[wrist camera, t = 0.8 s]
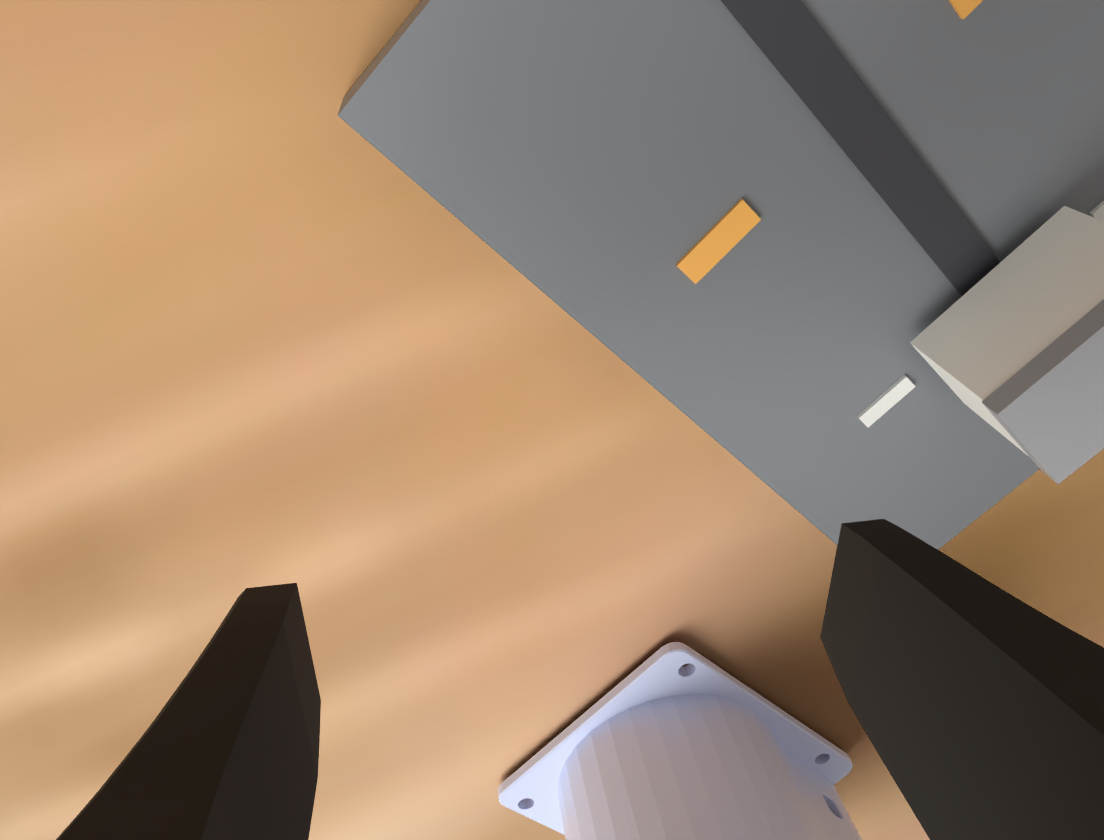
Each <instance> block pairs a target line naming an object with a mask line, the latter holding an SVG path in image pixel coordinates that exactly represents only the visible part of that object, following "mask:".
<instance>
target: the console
mask: <svg viewBox="0 0 1104 840" xmlns="http://www.w3.org/2000/svg"><path fill="white" fill-rule="evenodd" d="M338 116H339V117H340V118H341V119H342V120H344V121H345V122H346V123H347V124H348V125H349V126H351V127H352V128H353V129H354V130H355V131H356V132H358V133H359V134H360V135H361V136H362V137H363V138H364V139H366V140H367V141H368V142H369V143H370V144H371V145H373V146H374V147H375V148H376V149H377V150H378V151H380V152H381V153H382V154H383V155H384V156H385V157H387V158H388V159H389V160H390V161H391V162H392V163H394V164H395V165H396V166H397V167H398V168H399V169H401V170H402V171H403V172H404V173H405V174H406V175H408V176H409V177H410V178H411V179H412V180H413V181H414V182H416V183H417V184H418V185H419V186H420V187H421V188H423V189H424V190H425V191H426V192H427V193H428V194H430V195H431V196H432V197H433V198H434V199H435V200H437V201H438V202H439V203H440V204H441V205H442V206H444V207H445V208H446V209H447V210H448V211H449V212H451V213H452V214H453V215H454V216H455V217H456V218H458V219H459V220H460V221H461V222H462V223H463V224H464V225H466V226H467V227H468V228H469V229H470V230H471V231H473V232H474V233H475V234H476V235H477V236H478V237H480V238H481V239H482V240H483V241H484V242H485V243H487V244H488V245H489V246H490V247H491V248H492V249H494V250H495V251H496V252H497V253H498V254H499V255H501V256H502V257H503V258H504V259H505V260H506V261H508V262H509V263H510V264H511V265H512V266H513V267H515V268H516V269H517V270H518V271H519V272H520V273H521V274H523V275H524V276H525V277H526V278H527V279H528V280H530V281H531V282H532V283H533V284H534V285H535V286H537V287H538V288H539V289H540V290H541V291H542V292H544V293H545V294H546V295H547V296H548V297H549V298H551V299H552V300H553V301H554V302H555V303H556V304H558V305H559V306H560V307H561V308H562V309H563V310H565V311H566V312H567V313H568V314H569V315H570V316H571V317H573V318H574V319H575V320H576V321H577V322H578V323H580V324H581V325H582V326H583V327H584V328H585V329H587V330H588V331H589V332H590V333H591V334H592V335H594V336H595V337H596V338H597V339H598V340H599V341H601V342H602V343H603V344H604V345H605V346H606V347H608V348H609V349H610V350H611V351H612V352H613V353H615V354H616V355H617V356H618V357H619V358H620V359H621V360H623V361H624V362H625V363H626V364H627V365H628V366H630V367H631V368H632V369H633V370H634V371H635V372H637V373H638V374H639V375H640V376H641V377H642V378H644V379H645V380H646V381H647V382H648V383H649V384H651V385H652V386H653V387H654V388H655V389H656V390H658V391H659V392H660V393H661V394H662V395H663V396H665V397H666V398H667V399H668V400H669V401H670V402H671V403H673V404H674V405H675V406H676V407H677V408H678V409H680V410H681V411H682V412H683V413H684V414H685V415H687V416H688V417H689V418H690V419H691V420H692V421H694V422H695V423H696V424H697V425H698V426H699V427H701V428H702V429H703V430H704V431H705V432H706V433H708V434H709V435H710V436H711V437H712V438H713V439H715V440H716V441H717V442H718V443H719V444H720V445H722V446H723V447H724V448H725V449H726V450H727V451H728V452H730V453H731V454H732V455H733V456H734V457H735V458H737V459H738V460H739V461H740V462H741V463H742V464H744V465H745V466H746V467H747V468H748V469H749V470H751V471H752V472H753V473H754V474H755V475H756V476H758V477H759V478H760V479H761V480H762V481H763V482H765V483H766V484H767V485H768V486H769V487H770V488H772V489H773V490H774V491H775V492H776V493H777V494H778V495H780V496H781V497H782V498H783V499H784V500H785V501H787V502H788V503H789V504H790V505H791V506H792V507H794V508H795V509H796V510H797V511H798V512H799V513H801V514H802V515H803V516H804V517H805V518H806V519H808V520H809V521H810V522H811V523H812V524H813V525H815V526H816V527H817V528H818V529H819V530H820V531H822V532H823V533H824V534H825V535H826V536H827V537H828V538H830V539H831V540H832V541H833V542H834V543H835V544H837V545H838V540H839V535H840V530H841V524H842V523H849V522H858V521H868V520H877V519H885V520H887V521H889V522H891V523H893V524H895V525H897V526H898V527H900V528H902V529H904V530H905V531H907V532H909V533H911V534H912V535H914V536H916V537H917V538H919V539H921V540H922V541H924V542H926V543H927V544H929V545H931V546H932V547H934V548H935V549H937V550H938V549H940V548H941V547H942V546H943V545H945V544H946V543H947V542H948V541H950V540H951V539H952V538H953V537H955V536H956V535H957V534H958V533H960V532H961V531H962V530H963V529H965V528H966V527H967V526H968V525H970V524H971V523H972V522H973V521H975V520H976V519H977V518H978V517H980V516H981V515H982V514H983V513H985V512H986V511H987V510H989V509H990V508H991V507H992V506H994V505H995V504H996V503H997V502H999V501H1000V500H1001V499H1002V498H1004V497H1005V496H1006V495H1007V494H1009V493H1010V492H1011V491H1012V490H1014V489H1015V488H1016V487H1017V486H1019V485H1020V484H1021V483H1022V482H1024V481H1025V480H1026V479H1027V478H1029V477H1030V476H1031V475H1032V474H1034V473H1035V472H1036V471H1037V470H1039V469H1040V468H1039V467H1038V466H1037V465H1036V464H1035V463H1034V462H1033V460H1032V459H1031V458H1030V457H1029V456H1027V455H1026V454H1025V453H1024V452H1023V451H1021V450H1020V449H1019V448H1018V447H1016V446H1015V445H1014V444H1013V443H1012V442H1010V441H1009V440H1008V439H1007V438H1005V437H1004V436H1003V435H1002V434H1001V433H999V432H998V431H997V430H996V429H995V428H993V427H992V426H991V425H990V424H988V423H987V422H986V421H985V420H984V419H982V418H981V417H980V416H979V415H977V414H976V413H975V412H974V411H973V410H971V409H970V408H969V407H968V406H966V405H965V404H964V403H963V402H962V400H961V399H960V398H959V397H958V396H957V395H956V394H955V393H954V391H953V390H952V389H951V388H950V387H949V386H948V385H947V384H946V383H945V381H944V380H943V379H942V378H941V377H940V376H939V375H938V374H937V372H936V371H935V370H934V369H933V368H932V367H931V366H930V365H929V363H928V362H927V361H926V360H925V359H924V358H923V357H922V356H921V355H920V353H919V352H918V351H917V350H916V349H915V348H914V347H913V346H912V344H911V343H910V342H911V341H912V340H913V339H915V338H916V337H917V336H918V335H919V334H920V333H921V332H922V331H924V330H925V329H926V328H927V327H928V326H929V325H930V324H931V323H933V322H934V321H935V320H936V319H937V318H938V317H939V316H941V315H942V314H943V313H944V312H945V311H946V310H947V309H948V308H950V307H951V306H952V305H953V304H954V303H955V302H956V301H957V300H959V299H960V298H961V297H962V296H963V295H964V294H965V293H966V292H968V291H969V290H970V289H971V288H972V287H973V286H974V285H976V284H977V283H978V282H979V281H980V280H981V279H982V278H983V277H985V276H986V275H987V274H988V273H989V272H990V271H991V270H992V269H994V268H995V267H996V266H997V265H998V264H999V263H1000V262H1001V261H1003V260H1004V259H1005V258H1006V257H1007V256H1008V255H1009V254H1011V253H1012V252H1013V251H1014V250H1015V249H1016V248H1017V247H1018V246H1020V245H1021V244H1022V243H1023V242H1024V241H1025V240H1026V239H1027V238H1029V237H1030V236H1031V235H1032V234H1033V233H1034V232H1035V231H1036V230H1038V229H1039V228H1040V227H1041V226H1042V225H1043V224H1044V223H1046V222H1047V221H1048V220H1049V219H1050V218H1051V217H1052V216H1053V215H1055V214H1056V213H1057V212H1058V211H1059V210H1060V209H1061V208H1062V207H1064V206H1066V207H1069V208H1071V209H1074V210H1076V211H1079V212H1081V213H1084V214H1086V215H1089V216H1091V217H1094V218H1096V219H1099V220H1101V221H1104V0H421V1H420V3H419V4H418V5H417V6H416V8H415V9H414V10H413V11H412V13H411V14H410V15H409V16H408V18H407V19H406V20H405V21H404V22H403V24H402V25H401V26H400V27H399V29H398V30H397V31H396V32H395V34H394V35H393V36H392V37H391V39H390V40H389V41H388V42H387V44H386V45H385V46H384V47H383V49H382V50H381V51H380V52H379V54H378V55H377V56H376V57H375V59H374V60H373V61H372V62H371V64H370V65H369V66H368V67H367V69H366V70H365V71H364V72H363V74H362V75H361V76H360V77H359V79H358V80H357V81H356V82H355V84H354V85H353V86H352V87H351V89H350V90H349V91H348V92H347V94H346V95H345V96H344V98H343V101H342V104H341V107H340V110H339V113H338Z"/></svg>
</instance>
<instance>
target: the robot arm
mask: <svg viewBox="0 0 1104 840" xmlns="http://www.w3.org/2000/svg"><path fill="white" fill-rule="evenodd" d="M821 639H822V642H823V644H824V647H825V649H826V652H827V654H828V656H829V659H830V661H831V664H832V666H833V668H834V671H835V673H836V676H837V678H838V680H839V682H840V684H841V687H842V689H843V691H844V693H845V695H846V698H847V700H848V702H849V704H850V706H851V708H852V710H853V711H854V713H855V715H856V717H857V718H858V720H859V722H860V723H861V725H862V727H863V729H864V730H865V732H866V734H867V735H868V737H869V739H870V740H871V742H872V744H873V745H874V747H875V749H876V751H877V752H878V754H879V756H880V757H881V759H882V761H883V762H884V764H885V766H886V767H887V769H888V771H889V772H890V774H891V776H892V777H893V779H894V781H895V782H896V784H897V786H898V787H899V789H900V791H901V792H902V794H903V795H904V797H905V799H906V800H907V802H908V804H909V805H910V807H911V809H912V810H913V812H914V814H915V815H916V817H917V819H918V820H919V822H920V824H921V825H922V827H923V829H924V830H925V832H926V834H927V835H928V837H929V839H930V840H1104V648H1103V647H1101V646H1100V645H1098V644H1096V643H1094V642H1092V641H1090V640H1089V639H1087V638H1085V637H1083V636H1081V635H1079V634H1078V633H1076V632H1074V631H1072V630H1070V629H1068V628H1067V627H1065V626H1063V625H1062V624H1060V623H1058V622H1056V621H1055V620H1053V619H1051V618H1049V617H1048V616H1046V615H1044V614H1042V613H1041V612H1039V611H1037V610H1036V609H1034V608H1032V607H1030V606H1029V605H1027V604H1025V603H1024V602H1022V601H1020V600H1019V599H1017V598H1015V597H1014V596H1012V595H1010V594H1009V593H1007V592H1005V591H1004V590H1002V589H1000V588H999V587H997V586H996V585H994V584H992V583H991V582H989V581H987V580H986V579H984V578H982V577H981V576H979V575H978V574H976V573H974V572H973V571H971V570H970V569H968V568H966V567H965V566H963V565H961V564H960V563H958V562H957V561H955V560H953V559H952V558H950V557H948V556H947V555H945V554H944V553H942V552H940V551H939V550H937V549H935V548H934V547H932V546H931V545H929V544H927V543H926V542H924V541H922V540H921V539H919V538H917V537H916V536H914V535H912V534H911V533H909V532H907V531H905V530H904V529H902V528H900V527H898V526H897V525H895V524H893V523H891V522H889V521H887V520H885V519H877V520H868V521H858V522H849V523H842V524H841V530H840V535H839V540H838V546H837V551H836V556H835V562H834V567H833V572H832V578H831V583H830V589H829V594H828V599H827V605H826V610H825V615H824V621H823V626H822V632H821ZM684 664H688V665H686V666H684V667H681V666H683V665H684ZM320 706H321V700H320V695H319V690H318V685H317V680H316V675H315V670H314V665H313V660H312V656H311V651H310V646H309V641H308V636H307V631H306V626H305V621H304V617H303V612H302V607H301V602H300V597H299V592H298V587H297V583H291V584H282V585H273V586H264V587H254V588H246V589H245V590H244V592H243V593H242V594H241V595H240V596H239V597H238V598H237V600H236V602H235V603H234V605H233V606H232V608H231V609H230V611H229V613H228V614H227V616H226V617H225V619H224V620H223V622H222V623H221V625H220V627H219V628H218V630H217V631H216V633H215V634H214V636H213V637H212V639H211V640H210V642H209V643H208V645H207V646H206V648H205V649H204V651H203V652H202V654H201V655H200V657H199V658H198V660H197V661H196V663H195V664H194V665H193V667H192V668H191V670H190V671H189V673H188V674H187V676H186V677H185V678H184V680H183V681H182V683H181V684H180V685H179V687H178V688H177V689H176V691H175V692H174V694H173V695H172V696H171V698H170V699H169V701H168V702H167V703H166V705H165V706H164V707H163V709H162V710H161V712H160V713H159V714H158V716H157V717H156V719H155V720H154V721H153V723H152V724H151V725H150V727H149V728H148V729H147V731H146V732H145V733H144V735H143V736H142V737H141V738H140V740H139V741H138V742H137V743H136V745H135V746H134V747H133V748H132V750H131V751H130V752H129V753H128V755H127V756H126V757H125V758H124V760H123V761H122V762H121V763H120V765H119V766H118V767H117V768H116V770H115V771H114V772H113V773H112V775H111V776H110V777H109V778H108V780H107V781H106V782H105V783H104V785H103V786H102V787H101V788H100V790H99V791H98V792H97V793H96V794H95V796H94V797H93V798H92V799H91V800H90V801H89V803H88V804H87V805H86V806H85V807H84V808H83V810H82V811H81V812H80V813H79V814H78V815H77V817H76V818H75V819H74V820H73V821H72V822H71V823H70V825H69V826H68V827H67V828H66V829H65V830H64V831H63V832H62V834H61V835H60V836H59V837H58V838H57V839H56V840H308V837H309V831H310V824H311V818H312V811H313V805H314V798H315V791H316V785H317V778H318V758H319V735H320ZM852 767H853V765H852V761H851V760H850V758H849V756H848V755H847V754H846V753H845V752H844V751H842V750H841V749H839V748H838V747H836V746H835V745H833V744H832V743H831V742H829V741H828V740H826V739H825V738H823V737H822V736H820V735H819V734H817V733H816V732H814V731H813V730H811V729H810V728H808V727H807V726H805V725H804V724H802V723H801V722H799V721H798V720H796V719H795V718H794V717H792V716H791V715H789V714H788V713H786V712H785V711H783V710H782V709H780V708H779V707H777V706H776V705H774V704H773V703H771V702H770V701H768V700H767V699H765V698H764V697H762V696H761V695H759V694H758V693H756V692H755V691H754V690H752V689H751V688H749V687H748V686H746V685H745V684H743V683H742V682H740V681H739V680H737V679H736V678H734V677H733V676H731V675H730V674H728V673H727V672H725V671H724V670H722V669H721V668H719V667H718V666H717V665H715V664H714V663H712V662H711V661H709V660H708V659H706V658H705V657H703V656H702V655H700V654H699V653H697V652H696V651H694V650H693V649H691V648H690V647H688V646H687V645H685V644H683V643H681V642H671V643H667V644H666V645H664V646H662V647H661V648H660V649H659V650H658V651H656V652H655V653H654V654H653V655H652V656H651V657H649V658H648V659H647V660H646V661H645V662H643V663H642V664H641V665H640V666H639V667H638V668H636V669H635V670H634V671H633V672H632V673H631V674H629V675H628V676H627V677H626V678H625V679H623V680H622V681H621V682H620V683H619V684H618V685H616V686H615V687H614V688H613V689H612V690H611V691H609V692H608V693H607V694H606V695H605V696H603V697H602V698H601V699H600V700H599V701H598V702H596V703H595V704H594V705H593V706H592V707H591V708H589V709H588V710H587V711H586V712H585V713H583V714H582V715H581V716H580V717H579V718H578V719H576V720H575V721H574V722H573V723H572V724H571V725H569V726H568V727H567V728H566V729H565V730H563V731H562V732H561V733H560V734H559V735H558V736H556V737H555V738H554V739H553V740H552V741H551V742H549V743H548V744H547V745H546V746H545V747H543V748H542V749H541V750H540V751H539V752H538V753H536V754H535V755H534V756H533V757H532V758H531V759H529V760H528V761H527V762H526V763H525V764H523V765H522V766H521V767H520V768H519V769H518V770H516V771H515V772H514V773H513V774H512V775H511V776H509V777H508V778H507V779H506V780H505V781H503V782H502V783H501V784H500V786H499V787H498V799H499V802H500V803H501V804H502V805H503V806H505V807H507V808H509V809H511V810H513V811H516V812H518V813H520V814H522V815H524V816H526V817H528V818H530V819H532V820H534V821H537V822H539V823H541V824H543V825H545V826H547V827H549V828H551V829H553V830H555V831H558V832H560V833H562V834H564V835H565V839H566V840H862V839H861V837H860V835H859V833H858V831H857V829H856V828H855V826H854V824H853V822H852V820H851V818H850V816H849V814H848V812H847V810H846V808H845V806H844V804H843V802H842V800H841V798H840V797H839V795H838V793H837V791H836V789H835V787H834V784H835V783H837V782H838V781H839V780H841V779H842V778H843V777H845V776H846V775H847V774H848V773H849V772H850V771H851V769H852Z"/></svg>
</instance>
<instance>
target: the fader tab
mask: <svg viewBox="0 0 1104 840" xmlns="http://www.w3.org/2000/svg"><path fill="white" fill-rule="evenodd" d="M910 343H911V344H912V346H913V347H914V348H915V349H916V350H917V351H918V352H919V353H920V355H921V356H922V357H923V358H924V359H925V360H926V361H927V362H928V363H929V365H930V366H931V367H932V368H933V369H934V370H935V371H936V372H937V374H938V375H939V376H940V377H941V378H942V379H943V380H944V381H945V383H946V384H947V385H948V386H949V387H950V388H951V389H952V390H953V391H954V393H955V394H956V395H957V396H958V397H959V398H960V399H961V400H962V402H963V403H964V404H965V405H966V406H968V407H969V408H970V409H971V410H973V411H974V412H975V413H976V414H977V415H979V416H980V417H981V418H982V419H984V420H985V421H986V422H987V423H988V424H990V425H991V426H992V427H993V428H995V429H996V430H997V431H998V432H999V433H1001V434H1002V435H1003V436H1004V437H1005V438H1007V439H1008V440H1009V441H1010V442H1012V443H1013V444H1014V445H1015V446H1016V447H1018V448H1019V449H1020V450H1021V451H1023V452H1024V453H1025V454H1026V455H1027V456H1029V457H1030V458H1031V459H1032V460H1033V462H1034V463H1035V464H1036V465H1037V466H1038V467H1039V468H1040V470H1041V471H1042V472H1044V473H1045V474H1046V475H1047V476H1048V477H1050V478H1051V479H1052V480H1053V481H1054V482H1056V483H1057V484H1059V483H1061V482H1062V481H1063V480H1064V479H1066V478H1067V477H1068V476H1069V475H1071V474H1072V473H1073V472H1075V471H1076V470H1077V469H1078V468H1080V467H1081V466H1082V465H1083V464H1085V463H1086V462H1087V461H1089V460H1090V459H1091V458H1092V457H1094V456H1095V455H1096V454H1097V453H1099V452H1100V451H1101V450H1103V449H1104V221H1101V220H1099V219H1096V218H1094V217H1091V216H1089V215H1086V214H1084V213H1081V212H1079V211H1076V210H1074V209H1071V208H1069V207H1066V206H1064V207H1062V208H1061V209H1060V210H1059V211H1058V212H1057V213H1056V214H1055V215H1053V216H1052V217H1051V218H1050V219H1049V220H1048V221H1047V222H1046V223H1044V224H1043V225H1042V226H1041V227H1040V228H1039V229H1038V230H1036V231H1035V232H1034V233H1033V234H1032V235H1031V236H1030V237H1029V238H1027V239H1026V240H1025V241H1024V242H1023V243H1022V244H1021V245H1020V246H1018V247H1017V248H1016V249H1015V250H1014V251H1013V252H1012V253H1011V254H1009V255H1008V256H1007V257H1006V258H1005V259H1004V260H1003V261H1001V262H1000V263H999V264H998V265H997V266H996V267H995V268H994V269H992V270H991V271H990V272H989V273H988V274H987V275H986V276H985V277H983V278H982V279H981V280H980V281H979V282H978V283H977V284H976V285H974V286H973V287H972V288H971V289H970V290H969V291H968V292H966V293H965V294H964V295H963V296H962V297H961V298H960V299H959V300H957V301H956V302H955V303H954V304H953V305H952V306H951V307H950V308H948V309H947V310H946V311H945V312H944V313H943V314H942V315H941V316H939V317H938V318H937V319H936V320H935V321H934V322H933V323H931V324H930V325H929V326H928V327H927V328H926V329H925V330H924V331H922V332H921V333H920V334H919V335H918V336H917V337H916V338H915V339H913V340H912V341H911V342H910Z"/></svg>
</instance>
